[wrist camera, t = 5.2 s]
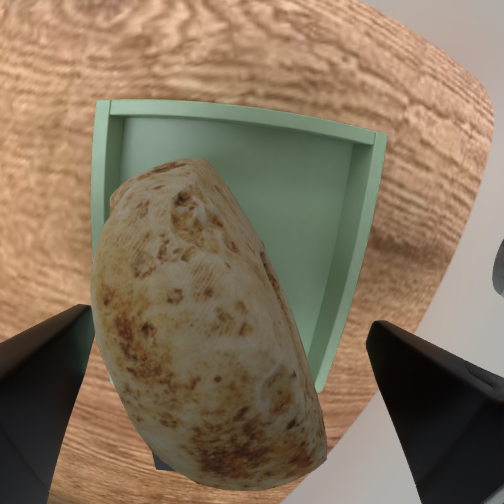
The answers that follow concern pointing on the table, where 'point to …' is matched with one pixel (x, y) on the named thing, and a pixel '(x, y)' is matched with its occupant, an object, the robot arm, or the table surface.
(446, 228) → the table surface
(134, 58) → the table surface
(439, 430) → the robot arm
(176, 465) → the beige oval piece
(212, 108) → the tray
